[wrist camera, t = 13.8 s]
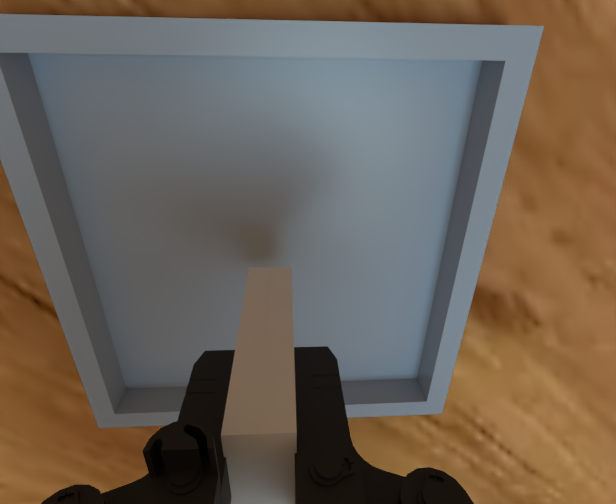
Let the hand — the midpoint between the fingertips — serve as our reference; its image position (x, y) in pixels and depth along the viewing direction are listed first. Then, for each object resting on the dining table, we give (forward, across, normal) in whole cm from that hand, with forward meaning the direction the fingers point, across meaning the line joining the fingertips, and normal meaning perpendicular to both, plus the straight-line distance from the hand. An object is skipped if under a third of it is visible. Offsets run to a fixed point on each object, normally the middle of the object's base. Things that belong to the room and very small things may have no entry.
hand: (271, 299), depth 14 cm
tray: (+4, 0, 0) cm, 4 cm away
